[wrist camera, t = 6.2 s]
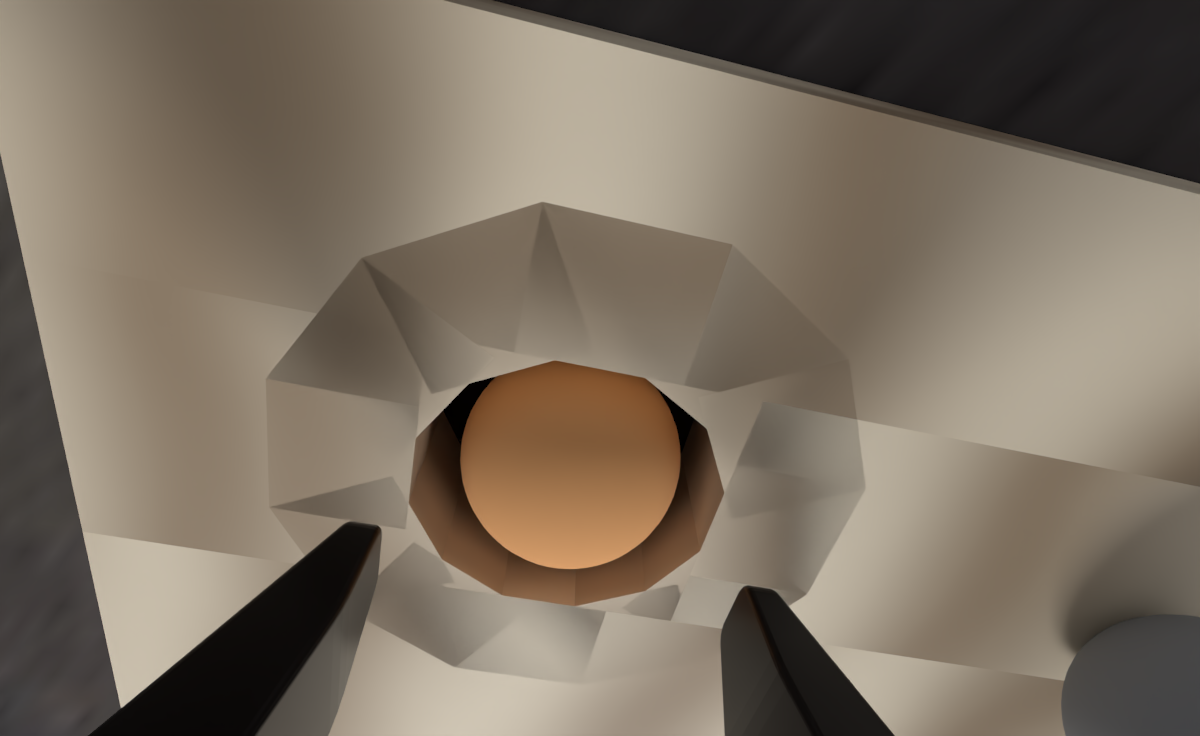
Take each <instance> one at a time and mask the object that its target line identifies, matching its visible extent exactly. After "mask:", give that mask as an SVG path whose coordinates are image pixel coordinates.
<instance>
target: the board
mask: <svg viewBox="0 0 1200 736" xmlns="http://www.w3.org/2000/svg"><path fill="white" fill-rule="evenodd" d="M0 153H1V158H2V163H3V167H4V172H5V176H6V181H7V186H8V190H9V195H10V199H11V204H12V209H13V213H14V218H15V222H16V227H17V232H18V236H19V241H20V245H21V250H22V255H23V259H24V264H25V268H26V273H27V278H28V282H29V287H30V291H31V296H32V301H33V305H34V310H35V314H36V319H37V324H38V328H39V333H40V337H41V342H42V347H43V351H44V356H45V360H46V365H47V370H48V374H49V379H50V383H51V388H52V393H53V397H54V402H55V406H56V411H57V416H58V420H59V425H60V430H61V434H62V439H63V443H64V448H65V453H66V457H67V462H68V466H69V471H70V476H71V480H72V485H73V489H74V494H75V499H76V503H77V508H78V512H79V517H80V522H81V526H82V531H83V535H84V540H85V545H86V549H87V554H88V558H89V563H90V568H91V572H92V577H93V581H94V586H95V591H96V595H97V600H98V604H99V609H100V614H101V618H102V623H103V627H104V632H105V637H106V641H107V646H108V650H109V655H110V660H111V664H112V669H113V673H114V678H115V683H116V687H117V692H118V696H119V701H120V706H121V708H122V707H123V706H125V705H126V704H127V703H128V702H129V701H131V700H132V699H133V698H134V697H135V696H137V695H138V694H139V693H140V692H142V691H143V690H144V689H145V688H146V687H148V686H149V685H150V684H151V683H152V682H154V681H155V680H156V679H157V678H158V677H160V676H161V675H162V674H163V673H164V672H166V671H167V670H168V669H169V668H170V667H172V666H173V665H174V664H175V663H176V662H178V661H179V660H180V659H181V658H183V657H184V656H185V655H186V654H187V653H189V652H190V651H191V650H192V649H193V648H195V647H196V646H197V645H198V644H199V643H201V642H202V641H203V640H204V639H205V638H207V637H208V636H209V635H210V634H211V633H213V632H214V631H215V630H216V629H217V628H219V627H220V626H221V625H222V624H223V623H225V622H226V621H227V620H228V619H230V618H231V617H232V616H233V615H234V614H236V613H237V612H238V611H239V610H240V609H242V608H243V607H244V606H245V605H246V604H248V603H249V602H250V601H251V600H252V599H254V598H255V597H256V596H257V595H258V594H260V593H261V592H262V591H263V590H264V589H266V588H267V587H268V586H269V585H271V584H272V583H273V582H274V581H275V580H277V579H278V578H279V577H280V576H281V575H283V574H284V573H285V572H286V571H287V570H289V569H290V568H291V567H292V566H293V565H295V564H296V563H297V562H298V561H299V560H301V559H302V558H303V557H304V556H305V555H307V554H308V553H309V552H310V551H312V550H313V549H314V548H315V547H316V546H318V545H319V544H320V543H321V542H322V541H324V540H325V539H326V538H327V537H328V536H330V535H331V534H332V533H333V532H334V531H336V530H337V529H338V528H339V527H340V526H342V525H343V524H344V523H346V522H349V521H355V522H361V523H368V524H374V525H378V526H379V527H380V528H381V530H382V540H381V551H380V562H379V573H378V579H377V584H376V588H375V591H374V595H373V598H372V601H371V605H370V608H369V611H368V615H367V618H366V621H365V625H364V628H363V631H362V635H361V638H360V641H359V645H358V648H357V651H356V655H355V658H354V661H353V665H352V668H351V671H350V675H349V678H348V681H347V685H346V688H345V691H344V694H343V697H342V700H341V703H340V706H339V709H338V712H337V715H336V717H335V720H334V722H333V725H332V728H331V730H330V733H329V735H328V736H725V733H724V712H723V691H722V670H721V649H720V638H721V631H722V627H723V624H724V622H725V620H726V618H727V616H728V613H729V611H730V609H731V607H732V605H733V603H734V601H735V599H736V597H737V595H738V593H739V591H740V590H741V588H743V587H744V586H746V585H751V586H757V587H763V588H769V589H772V590H774V591H776V592H777V593H778V594H779V595H780V596H781V597H782V599H783V600H784V601H785V602H786V604H787V605H788V606H789V607H790V608H791V610H792V611H793V612H794V613H795V614H796V616H797V617H798V618H799V619H800V621H801V622H802V623H803V624H804V625H805V627H806V628H807V629H808V630H809V632H810V633H811V634H812V635H813V636H814V638H815V639H816V640H817V641H818V643H819V644H820V645H821V646H822V647H823V649H824V650H825V651H826V652H827V653H828V655H829V656H830V657H831V658H832V660H833V661H834V662H835V663H836V664H837V666H838V667H839V668H840V669H841V671H842V672H843V673H844V674H845V675H846V677H847V678H848V679H849V680H850V682H851V683H852V684H853V685H854V686H855V688H856V689H857V690H858V691H859V692H860V694H861V695H862V696H863V697H864V699H865V700H866V701H867V702H868V703H869V705H870V706H871V707H872V708H873V710H874V711H875V712H876V713H877V714H878V716H879V717H880V718H881V719H882V720H883V722H884V723H885V724H886V725H887V727H888V728H889V729H890V730H891V731H892V733H893V734H894V735H895V736H1066V735H1065V731H1064V727H1063V722H1062V711H1061V698H1062V688H1063V683H1064V680H1065V677H1066V673H1067V671H1068V668H1069V666H1070V665H1071V663H1072V661H1073V659H1074V658H1075V656H1076V654H1077V653H1078V652H1079V650H1080V649H1081V648H1082V647H1083V646H1084V645H1085V644H1086V643H1087V642H1088V641H1089V640H1090V639H1091V638H1093V637H1094V636H1095V635H1097V634H1098V633H1100V632H1101V631H1103V630H1104V629H1106V628H1108V627H1110V626H1112V625H1114V624H1117V623H1119V622H1122V621H1125V620H1129V619H1133V618H1137V617H1143V616H1150V615H1159V614H1173V615H1189V616H1196V617H1200V184H1199V183H1195V182H1192V181H1188V180H1184V179H1180V178H1176V177H1172V176H1168V175H1165V174H1161V173H1157V172H1153V171H1149V170H1145V169H1141V168H1138V167H1134V166H1130V165H1126V164H1122V163H1118V162H1114V161H1111V160H1107V159H1103V158H1099V157H1095V156H1091V155H1087V154H1084V153H1080V152H1076V151H1072V150H1068V149H1064V148H1060V147H1057V146H1053V145H1049V144H1045V143H1041V142H1037V141H1033V140H1030V139H1026V138H1022V137H1018V136H1014V135H1010V134H1006V133H1003V132H999V131H995V130H991V129H987V128H983V127H979V126H976V125H972V124H968V123H964V122H960V121H956V120H952V119H948V118H945V117H941V116H937V115H933V114H929V113H925V112H921V111H918V110H914V109H910V108H906V107H902V106H898V105H894V104H891V103H887V102H883V101H879V100H875V99H871V98H867V97H864V96H860V95H856V94H852V93H848V92H844V91H840V90H837V89H833V88H829V87H825V86H821V85H817V84H813V83H810V82H806V81H802V80H798V79H794V78H790V77H786V76H783V75H779V74H775V73H771V72H767V71H763V70H759V69H756V68H752V67H748V66H744V65H740V64H736V63H732V62H729V61H725V60H721V59H717V58H713V57H709V56H705V55H702V54H698V53H694V52H690V51H686V50H682V49H678V48H674V47H671V46H667V45H663V44H659V43H655V42H651V41H647V40H644V39H640V38H636V37H632V36H628V35H624V34H620V33H617V32H613V31H609V30H605V29H601V28H597V27H593V26H590V25H586V24H582V23H578V22H574V21H570V20H566V19H563V18H559V17H555V16H551V15H547V14H543V13H539V12H536V11H532V10H528V9H524V8H520V7H516V6H512V5H509V4H505V3H501V2H497V1H493V0H0ZM554 360H556V361H561V362H566V363H571V364H577V365H582V366H587V367H592V368H597V369H602V370H607V371H612V372H617V373H622V374H628V375H633V376H638V377H643V378H646V379H647V380H648V381H649V382H651V383H652V384H653V385H654V386H655V387H657V388H658V389H659V390H660V391H662V392H663V393H664V394H665V395H666V396H668V397H669V398H670V399H671V400H672V401H674V402H675V403H676V404H677V405H679V406H680V407H681V408H682V409H683V410H685V411H686V412H687V413H688V414H689V415H691V416H692V417H693V418H694V421H693V423H692V426H691V429H690V432H689V434H688V437H687V440H686V443H685V445H684V448H683V451H682V453H681V454H680V455H681V460H680V472H679V479H678V483H677V487H676V490H675V494H674V497H673V499H672V501H671V504H670V506H669V508H668V510H667V512H666V514H665V515H664V517H663V518H662V520H661V522H660V523H659V524H658V525H657V527H656V528H655V529H654V530H653V531H652V532H651V534H650V535H649V536H648V537H647V538H646V539H645V540H644V541H643V542H642V543H640V544H639V545H638V546H636V547H635V548H634V549H632V550H631V551H629V552H628V553H626V554H624V555H623V556H621V557H619V558H617V559H615V560H612V561H610V562H608V563H604V564H601V565H598V566H593V567H589V568H581V569H558V568H551V567H546V566H542V565H538V564H535V563H533V562H530V561H527V560H525V559H523V558H521V557H519V556H518V555H516V554H514V553H512V552H510V551H509V550H507V549H506V548H504V547H503V546H502V545H501V544H500V543H499V542H497V541H496V540H495V539H494V538H493V537H492V536H491V535H490V534H489V533H488V531H487V530H486V529H485V528H484V527H483V525H482V524H481V522H480V521H479V519H478V518H477V516H476V514H475V513H474V511H473V509H472V507H471V505H470V503H469V500H468V498H467V495H466V492H465V488H464V485H463V481H462V473H461V463H460V457H461V445H460V443H459V441H458V439H457V437H456V435H455V433H454V431H453V429H452V427H451V425H450V423H449V421H448V419H447V417H446V415H445V413H444V411H443V410H444V409H445V408H446V407H447V406H448V405H449V404H450V403H451V401H452V400H453V399H454V398H455V397H456V396H457V395H458V394H459V393H460V392H461V391H462V390H463V389H464V388H465V387H466V386H467V385H468V384H470V383H474V382H477V381H481V380H485V379H488V378H492V377H496V376H499V375H503V374H507V373H510V372H514V371H518V370H521V369H525V368H529V367H532V366H536V365H540V364H543V363H547V362H551V361H554Z"/></svg>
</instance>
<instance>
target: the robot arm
mask: <svg viewBox="0 0 1200 736" xmlns="http://www.w3.org/2000/svg"><path fill="white" fill-rule="evenodd" d="M381 540H382V530H381V528H380V527H379V526H378V525H374V524H368V523H361V522H355V521H349V522H346V523H344V524H343V525H342V526H340V527H339V528H338V529H337V530H336V531H334V532H333V533H332V534H331V535H330V536H328V537H327V538H326V539H325V540H324V541H322V542H321V543H320V544H319V545H318V546H316V547H315V548H314V549H313V550H312V551H310V552H309V553H308V554H307V555H305V556H304V557H303V558H302V559H301V560H299V561H298V562H297V563H296V564H295V565H293V566H292V567H291V568H290V569H289V570H287V571H286V572H285V573H284V574H283V575H281V576H280V577H279V578H278V579H277V580H275V581H274V582H273V583H272V584H271V585H269V586H268V587H267V588H266V589H264V590H263V591H262V592H261V593H260V594H258V595H257V596H256V597H255V598H254V599H252V600H251V601H250V602H249V603H248V604H246V605H245V606H244V607H243V608H242V609H240V610H239V611H238V612H237V613H236V614H234V615H233V616H232V617H231V618H230V619H228V620H227V621H226V622H225V623H223V624H222V625H221V626H220V627H219V628H217V629H216V630H215V631H214V632H213V633H211V634H210V635H209V636H208V637H207V638H205V639H204V640H203V641H202V642H201V643H199V644H198V645H197V646H196V647H195V648H193V649H192V650H191V651H190V652H189V653H187V654H186V655H185V656H184V657H183V658H181V659H180V660H179V661H178V662H176V663H175V664H174V665H173V666H172V667H170V668H169V669H168V670H167V671H166V672H164V673H163V674H162V675H161V676H160V677H158V678H157V679H156V680H155V681H154V682H152V683H151V684H150V685H149V686H148V687H146V688H145V689H144V690H143V691H142V692H140V693H139V694H138V695H137V696H135V697H134V698H133V699H132V700H131V701H129V702H128V703H127V704H126V705H125V706H123V707H122V708H121V709H120V710H119V711H117V712H116V713H115V714H114V715H113V716H111V717H110V718H109V719H108V720H107V721H105V722H104V723H103V724H102V725H100V726H99V727H98V728H97V729H96V730H94V731H93V732H92V733H91V734H90V735H88V736H328V735H329V733H330V730H331V728H332V725H333V722H334V720H335V717H336V715H337V712H338V709H339V706H340V703H341V700H342V697H343V694H344V691H345V688H346V685H347V681H348V678H349V675H350V671H351V668H352V665H353V661H354V658H355V655H356V651H357V648H358V645H359V641H360V638H361V635H362V631H363V628H364V625H365V621H366V618H367V615H368V611H369V608H370V605H371V601H372V598H373V595H374V591H375V588H376V584H377V579H378V573H379V562H380V551H381ZM720 649H721V670H722V691H723V712H724V733H725V736H895V735H894V734H893V733H892V731H891V730H890V729H889V728H888V727H887V725H886V724H885V723H884V722H883V720H882V719H881V718H880V717H879V716H878V714H877V713H876V712H875V711H874V710H873V708H872V707H871V706H870V705H869V703H868V702H867V701H866V700H865V699H864V697H863V696H862V695H861V694H860V692H859V691H858V690H857V689H856V688H855V686H854V685H853V684H852V683H851V682H850V680H849V679H848V678H847V677H846V675H845V674H844V673H843V672H842V671H841V669H840V668H839V667H838V666H837V664H836V663H835V662H834V661H833V660H832V658H831V657H830V656H829V655H828V653H827V652H826V651H825V650H824V649H823V647H822V646H821V645H820V644H819V643H818V641H817V640H816V639H815V638H814V636H813V635H812V634H811V633H810V632H809V630H808V629H807V628H806V627H805V625H804V624H803V623H802V622H801V621H800V619H799V618H798V617H797V616H796V614H795V613H794V612H793V611H792V610H791V608H790V607H789V606H788V605H787V604H786V602H785V601H784V600H783V599H782V597H781V596H780V595H779V594H778V593H777V592H776V591H774V590H772V589H769V588H763V587H757V586H751V585H746V586H744V587H743V588H741V590H740V591H739V593H738V595H737V597H736V599H735V601H734V603H733V605H732V607H731V609H730V611H729V613H728V616H727V618H726V620H725V622H724V624H723V627H722V631H721V638H720Z"/></svg>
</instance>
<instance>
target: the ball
mask: <svg viewBox="0 0 1200 736" xmlns="http://www.w3.org/2000/svg"><path fill="white" fill-rule="evenodd" d="M680 460H681V455H680V443H679V437H678V432H677V427H676V424H675V422H674V419H673V417H672V414H671V412H670V409H669V407H668V405H667V403H666V402H665V400H664V398H663V397H662V395H661V394H660V392H659V391H658V390H657V388H656V387H655V386H654V385H653V384H652V383H651V382H649V381H648V380H647V379H646V378H643V377H638V376H633V375H628V374H622V373H617V372H612V371H607V370H602V369H597V368H592V367H587V366H582V365H577V364H571V363H566V362H561V361H556V360H554V361H551V362H547V363H543V364H540V365H536V366H532V367H529V368H525V369H521V370H518V371H514V372H510V373H507V374H503V375H499V376H497V377H495V378H494V379H493V380H492V381H491V382H490V383H489V385H488V386H487V387H486V388H485V389H484V391H483V392H482V393H481V395H480V396H479V398H478V400H477V401H476V403H475V405H474V406H473V408H472V410H471V412H470V415H469V417H468V419H467V422H466V426H465V429H464V433H463V437H462V444H461V457H460V463H461V473H462V481H463V485H464V488H465V492H466V495H467V498H468V500H469V503H470V505H471V507H472V509H473V511H474V513H475V514H476V516H477V518H478V519H479V521H480V522H481V524H482V525H483V527H484V528H485V529H486V530H487V531H488V533H489V534H490V535H491V536H492V537H493V538H494V539H495V540H496V541H497V542H499V543H500V544H501V545H502V546H503V547H504V548H506V549H507V550H509V551H510V552H512V553H514V554H516V555H518V556H519V557H521V558H523V559H525V560H527V561H530V562H533V563H535V564H538V565H542V566H546V567H551V568H558V569H581V568H589V567H593V566H598V565H601V564H604V563H608V562H610V561H612V560H615V559H617V558H619V557H621V556H623V555H624V554H626V553H628V552H629V551H631V550H632V549H634V548H635V547H636V546H638V545H639V544H640V543H642V542H643V541H644V540H645V539H646V538H647V537H648V536H649V535H650V534H651V532H652V531H653V530H654V529H655V528H656V527H657V525H658V524H659V523H660V522H661V520H662V518H663V517H664V515H665V514H666V512H667V510H668V508H669V506H670V504H671V501H672V499H673V497H674V494H675V490H676V487H677V483H678V479H679V472H680Z"/></svg>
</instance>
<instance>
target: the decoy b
mask: <svg viewBox="0 0 1200 736" xmlns="http://www.w3.org/2000/svg"><path fill="white" fill-rule="evenodd" d="M1061 711H1062V722H1063V727H1064V731H1065V735H1066V736H1200V617H1196V616H1189V615H1173V614H1159V615H1150V616H1143V617H1137V618H1133V619H1129V620H1125V621H1122V622H1119V623H1117V624H1114V625H1112V626H1110V627H1108V628H1106V629H1104V630H1103V631H1101V632H1100V633H1098V634H1097V635H1095V636H1094V637H1093V638H1091V639H1090V640H1089V641H1088V642H1087V643H1086V644H1085V645H1084V646H1083V647H1082V648H1081V649H1080V650H1079V652H1078V653H1077V654H1076V656H1075V658H1074V659H1073V661H1072V663H1071V665H1070V666H1069V668H1068V671H1067V673H1066V677H1065V680H1064V683H1063V688H1062V698H1061Z"/></svg>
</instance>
